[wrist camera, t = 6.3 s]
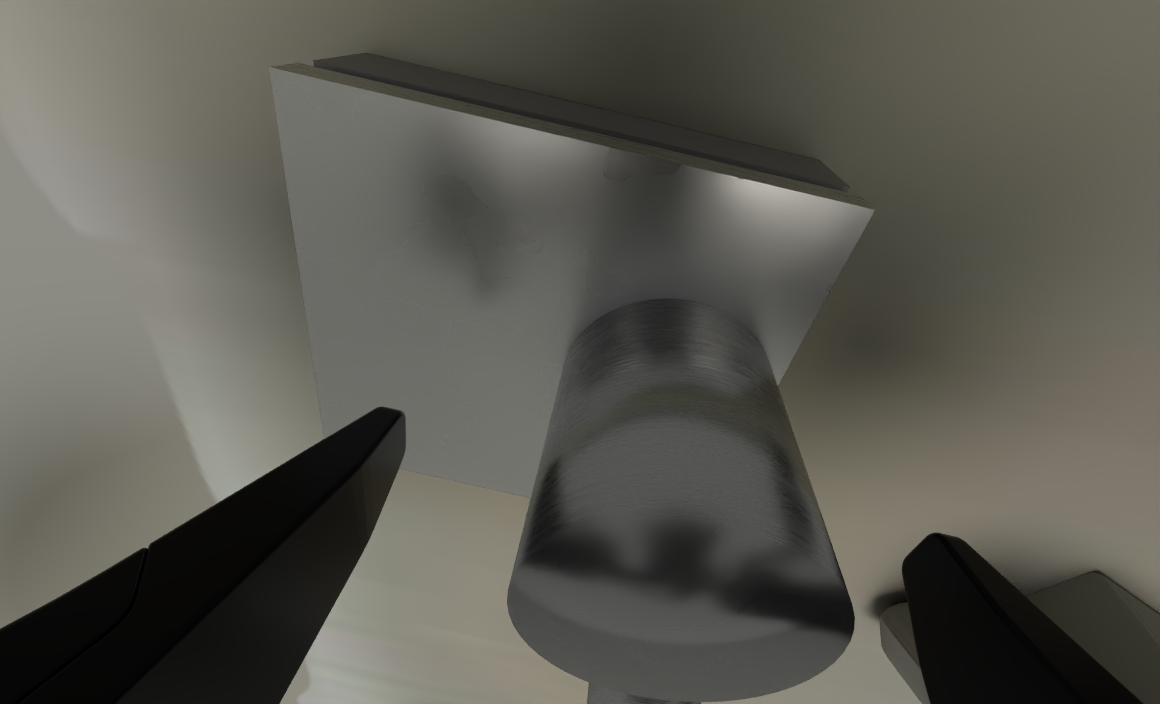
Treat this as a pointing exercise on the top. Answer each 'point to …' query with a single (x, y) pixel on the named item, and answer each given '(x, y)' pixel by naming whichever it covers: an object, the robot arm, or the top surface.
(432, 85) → the scale base
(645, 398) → the cylinder
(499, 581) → the top surface
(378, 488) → the robot arm
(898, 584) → the top surface
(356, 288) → the platform
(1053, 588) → the digital clock
